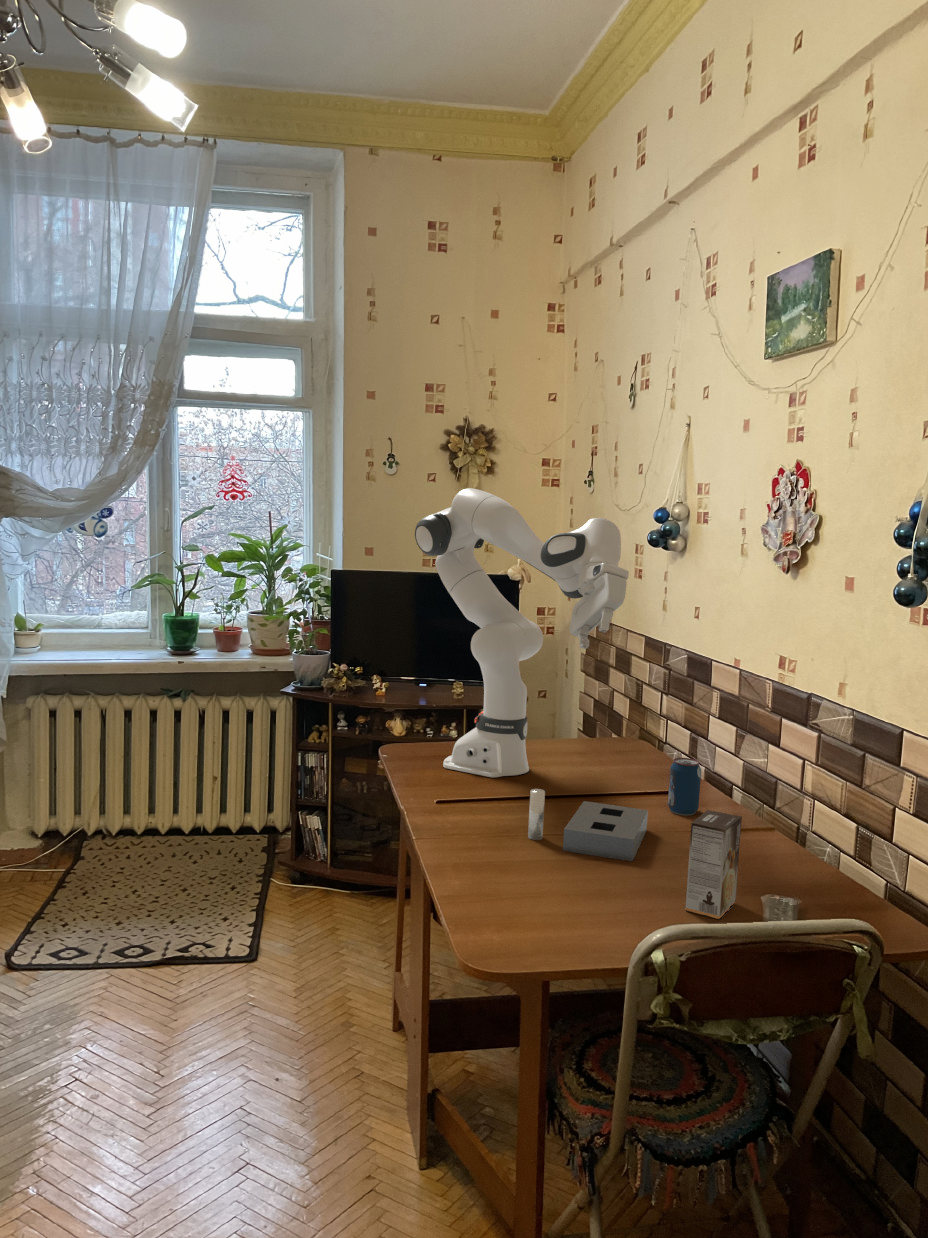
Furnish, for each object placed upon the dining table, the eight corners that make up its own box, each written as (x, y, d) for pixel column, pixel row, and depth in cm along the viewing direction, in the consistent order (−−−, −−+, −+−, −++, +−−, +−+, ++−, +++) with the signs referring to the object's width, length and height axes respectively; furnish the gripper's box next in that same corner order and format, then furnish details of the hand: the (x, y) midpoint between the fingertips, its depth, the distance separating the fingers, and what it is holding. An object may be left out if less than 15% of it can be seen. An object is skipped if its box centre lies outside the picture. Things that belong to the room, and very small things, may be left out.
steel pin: (526, 838, 196) (528, 792, 195) (529, 834, 199) (532, 788, 198) (540, 841, 195) (543, 794, 194) (543, 836, 198) (546, 790, 197)
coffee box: (701, 894, 171) (707, 808, 169) (736, 903, 168) (743, 815, 166) (684, 911, 163) (690, 821, 162) (720, 921, 160) (727, 829, 158)
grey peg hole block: (562, 850, 190) (564, 829, 190) (582, 820, 209) (583, 801, 208) (632, 861, 186) (634, 839, 185) (646, 830, 205) (647, 810, 204)
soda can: (703, 812, 219) (707, 761, 217) (688, 818, 214) (692, 766, 212) (677, 805, 224) (680, 755, 222) (661, 811, 218) (665, 760, 217)
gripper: (565, 599, 218) (560, 652, 212) (606, 559, 201) (601, 616, 195) (590, 606, 220) (585, 660, 214) (632, 568, 202) (629, 625, 196)
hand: (593, 639), depth 204 cm, fingers open, 8 cm apart
